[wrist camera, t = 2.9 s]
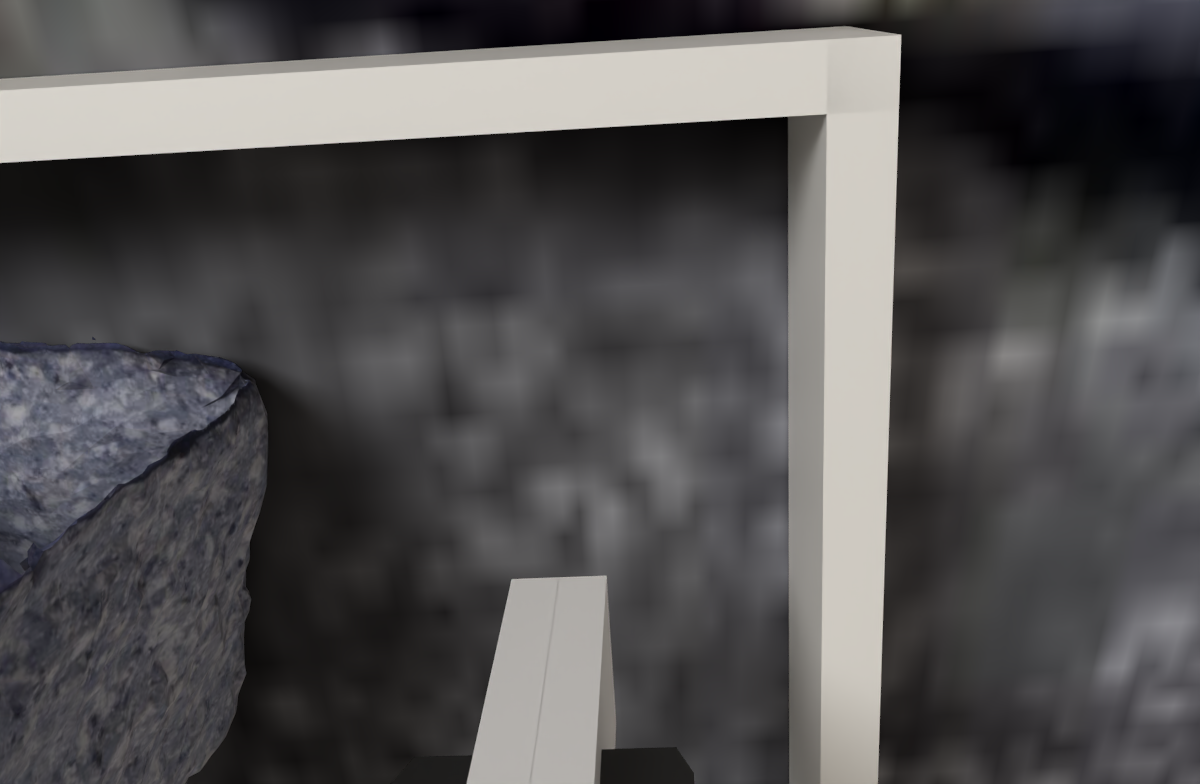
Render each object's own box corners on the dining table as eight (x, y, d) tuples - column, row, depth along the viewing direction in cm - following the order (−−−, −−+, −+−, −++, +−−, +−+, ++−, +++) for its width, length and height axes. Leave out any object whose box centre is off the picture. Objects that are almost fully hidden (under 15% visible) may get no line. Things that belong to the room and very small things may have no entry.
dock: (-6, 887, 26) (-114, 1040, 22) (-256, 94, 20) (-464, 118, 16) (834, 861, 25) (870, 1016, 21) (846, 26, 19) (901, 35, 15)
